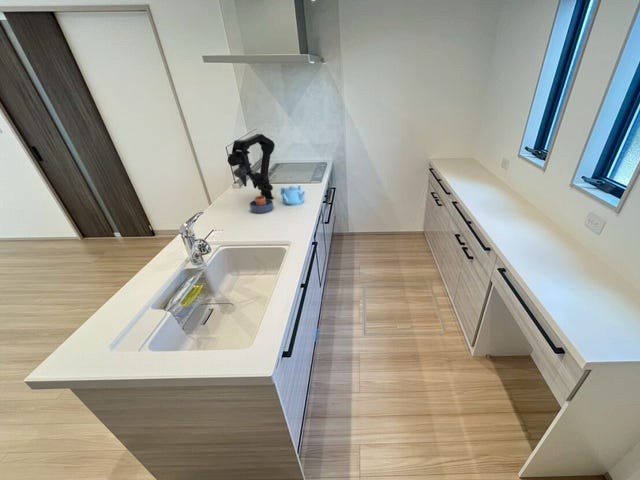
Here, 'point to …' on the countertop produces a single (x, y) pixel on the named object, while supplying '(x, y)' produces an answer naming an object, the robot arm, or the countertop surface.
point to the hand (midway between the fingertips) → (250, 187)
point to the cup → (260, 201)
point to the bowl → (261, 207)
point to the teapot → (292, 195)
